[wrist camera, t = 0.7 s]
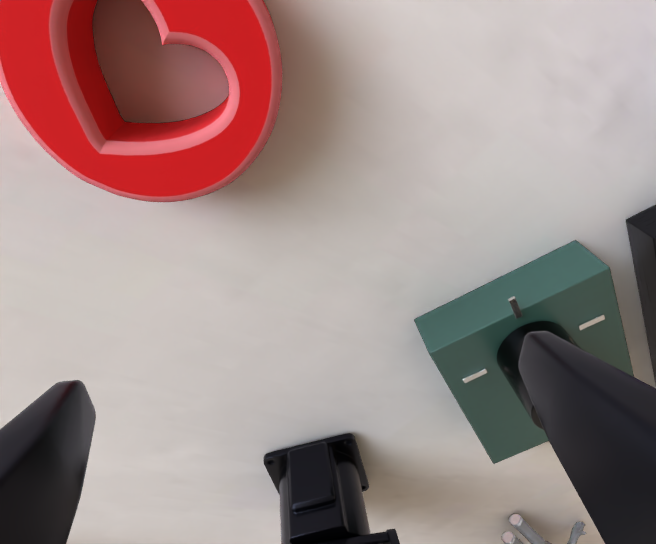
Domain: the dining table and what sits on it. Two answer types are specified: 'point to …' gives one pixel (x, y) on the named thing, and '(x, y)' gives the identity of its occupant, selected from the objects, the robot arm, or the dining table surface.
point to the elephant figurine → (531, 535)
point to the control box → (506, 316)
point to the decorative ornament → (141, 138)
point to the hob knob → (511, 354)
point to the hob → (645, 269)
